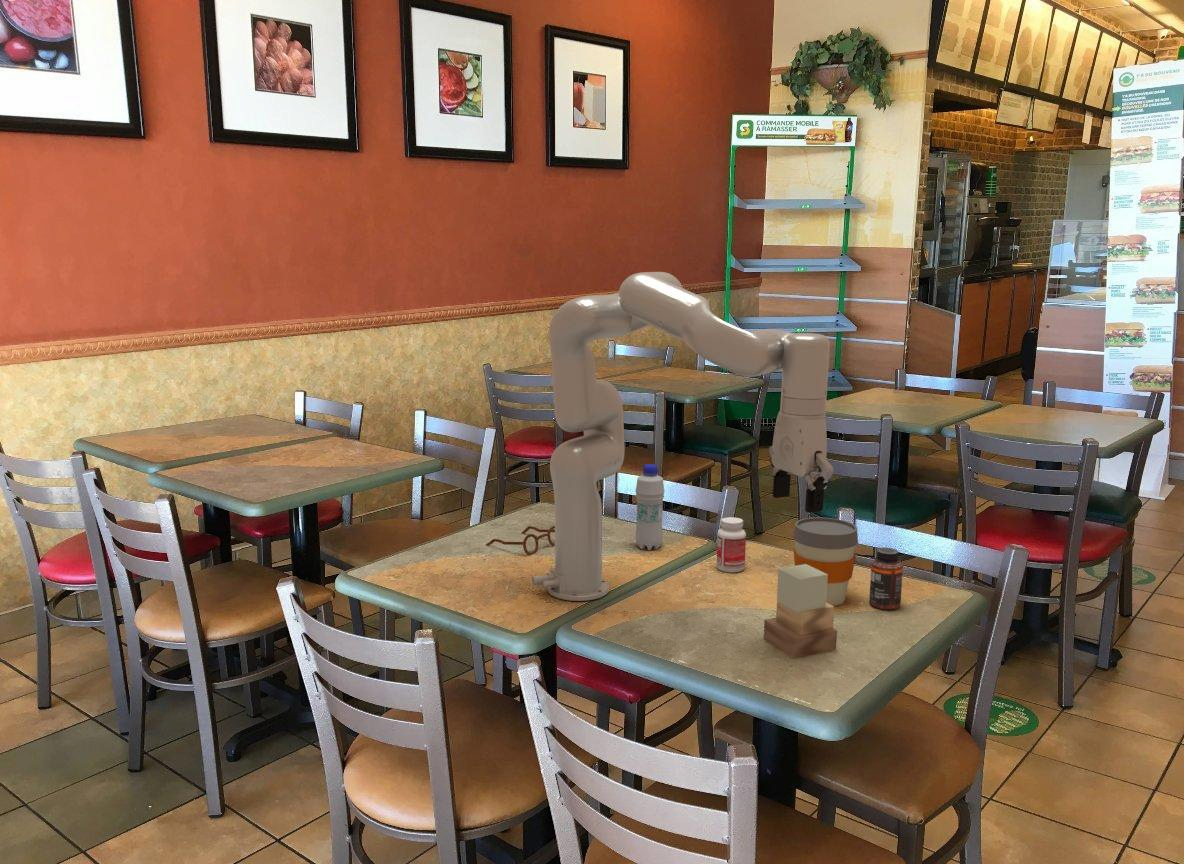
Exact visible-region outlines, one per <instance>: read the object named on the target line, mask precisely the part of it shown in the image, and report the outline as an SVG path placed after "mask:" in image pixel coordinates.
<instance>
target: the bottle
mask: <svg viewBox="0 0 1184 864" xmlns="http://www.w3.org/2000/svg"><path fill="white" fill-rule="evenodd" d="M658 471H659V468H658V466H657V465H656V464H653V463H647V464H645V465H643V467H642V474H641V475H639V476H638V477H637V479H636V486H635V498H636V526H635V527H636V528H635V543H636V546H637V547H638V548H640V549H641V550H645V547H647V550H648V551H651V550H652V548H653V549H654V550H658V549H659V548H660V547H661V546H662V543H663V539H664V537H663V536H664V535H663V534H664V533H663V501H664V498H665V484H664V478H663V477H662V476H660V475H658V473H659V472H658Z"/></svg>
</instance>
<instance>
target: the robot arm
mask: <svg viewBox="0 0 1184 864" xmlns="http://www.w3.org/2000/svg"><path fill="white" fill-rule="evenodd" d="M648 326H651V327H652V328H655V329H657V330H659V331H661V332H664V333H666V334H668V335H670V336H672V337H674V338H676V339H678V340H680V341H682V342H684V343H685V344H686V345H687V346H688V347H689V349H691V350H692V351H693V352H694V353H695V354H697V355H698V356H699V357H701V358H702V359H704V360H706V361H707V362H709V363H711V364H713V365H716V366H718V367H720V368H722V369H724V370H726V371H729V373H733V374H735V375H738V376H742V377H748V378H749V377H750V378H752V377H758V376H761V375H765V374H769V373H773V372H774V373H775V372H782V373H781V374H782V375H781V390H780V392H781V393H780V408H779V411H778V413H777V416H776V421H775V426H774V430H773V431H774V432H773V439H772V445H771V446H769V447H768V453H769V456H770V459H769V461H770V465H771V467H772V470H771V473H772V474H773V482H772V483H773V485H772V498H775V499H779V498H788V497H790V493H791V491H790V490H791V477H792V476H791V475H794V476H796V477H800V478H803V477H804V478H805V480H806V483H807V486H808V488H807V489H805V490H806V492H805V503H804V504H805V506H804V507H805V508H804V511H805V512H806V513H808V514H811V513H819V512H823V510H824V498H825V497H824V496H825V490H826V489H827V486H828V485H829V483H830V482H831V478H832V476H833V473H834V471H835V469H834V467H833V465H832V464H831V463H830V462H829V460H828V459H827V454H828V453H827V451H828V450H827V449H828V442H827V440H828V439H827V422H826V413H827V412H826V408H827V396H828V381H829V380H828V379H829V366H830V364H829V363H830V362H829V361H830V351H831V350H830V349H831V347H830V346H831V342H830V339H829V338H828V337H827V336H826V335H824V334H821V333H813V332H797V333H795V332H791V331H785V330H781V329H775V328H765V329H758V330H757V329H756V330H751V331H748V330H746V329H745V330H744V328H740V327H739V326H735V325H734V324H731V323H730V322H727V321H724V320H723V319H721V318H719V317H718V316H716V315H715V314H714V313H713V312H712V311H711V306H710V302H709V300H707V298H705V297H703V296H702V295H699V294H696V293H694V292H692V291H690V290H687V289H686V288H683V285H682V283H681V282H680V281H679V279H677V277H675V276H674V275H672V274H671V273H668V272H665V271H664V272H663V271H645V272H643V271H642V272H637V273H633V274H631V275H629V276H628V277H627V278H626V279H624V281H623V282H622V283H621V284H620V287H619V289H618V292H616V293H613V294H610V293H609V294H596V295H595V294H594V295H586V296H585V295H584V296H579V297H575V298H573V299H571V300H568V301H566V302H565V303H563V304H562V305H561V306H560V307H559V308H557V309H556V310H555V312H554V313H553V316H552V317H551V319H550V322H549V328H548V342H549V349H550V356H551V357H550V358H551V366H552V367H551V371H552V375H551V376H552V390H553V391H552V392H553V411H554V417H555V421H556V423H557V425H558V427H559V428H560V429H561V430H563V431H564V432H568V433H580V432H583V435H582V436H578V437H574V438H572V439H568V440H566V441H564V442H562V443H561V444H559V445H558V446H557V447H556V448H555V449H554V451H553V453H552V454H551V457H550V461H549V471H550V477H551V481H552V482H551V483H552V487H553V497H554V526H555V528H554V529H555V532H554V544H555V546H554V567H550V572H547V573H546V574H544V575H533V576H532V577H531V583H532V586H542V588H543V589H545V588H547V592H548V594H550V596H552V597H554V598H557V599H559V600H564V601H571V602H572V601H573V602H584V601H585V602H586V601H593V600H597V599H600V598H603V597H605V596H606V595H607V594H608V593H609V591H610V583H608V581H607V580H606V579H603V578H602V577H603V576H602V573H603V572H602V571H603V570H602V569H603V568H602V566H603V560H602V559H603V556H602V555H603V505H602V499H601V495H600V493H599V491H598V486H597V482H598V481H600V480H604V479H606V478H609V477H611V476H613V475H615V474H616V473H617V472H618V471H619V470H620V469H621V467H622V466H623V463H624V459H625V448H626V447H625V429H624V428H625V426H624V407H623V401H622V397H621V396H620V393H619V391H618V389H617V387H615V386H614V385H613V383H611V382H609V381H608V380H604V379H597V375H596V374H597V372H596V368H597V367H596V359H595V356H594V354H593V351H592V349H591V347H590V342H593V341H598V340H605V339H606V340H607V339H612V338H614V339H615V338H619V337H623V336H626V335H630V334H631V333H634V332H637V331H639V330H641V329H643V328H645V327H648ZM815 477H816V479H815V480H814V478H815Z"/></svg>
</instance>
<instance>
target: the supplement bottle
mask: <svg viewBox="0 0 1184 864" xmlns="http://www.w3.org/2000/svg"><path fill="white" fill-rule="evenodd" d="M898 558H899V550H898V549H896V548H892V547H879V548H877V550H876V558H874V559H873V560H872V561H871V564H870V582H869V583H870V584H869V597H868V598H869V599H868V600H869V604H870V605H871V606H872V607H874V608H877V609H880V610H887V611H888V610H895V609H899V608H900V606H901V602H902V589H903V588H902V587H903V586H902V585H903V570H904V569H903V568H904V565H903V563H902V561H900V560H899V559H898Z"/></svg>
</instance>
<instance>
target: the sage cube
mask: <svg viewBox="0 0 1184 864" xmlns="http://www.w3.org/2000/svg"><path fill="white" fill-rule="evenodd" d="M827 579H828V574H826V573H824V572H822V571H820V570H817V569H815V568H813V567H811V566H809V565H807V564H803V565H797V566H795V565H793V566H786V567H780V568H778V569H777V589H776V591H777V592H776V602H777V601H778V602H780V603H782V604H783V605H785V606H787V607H789V608H791V609H792V610H794V611H796V612H798V613H799V612H804V611H809V610H814V609H819V608H824V607H826V596H827Z"/></svg>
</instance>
